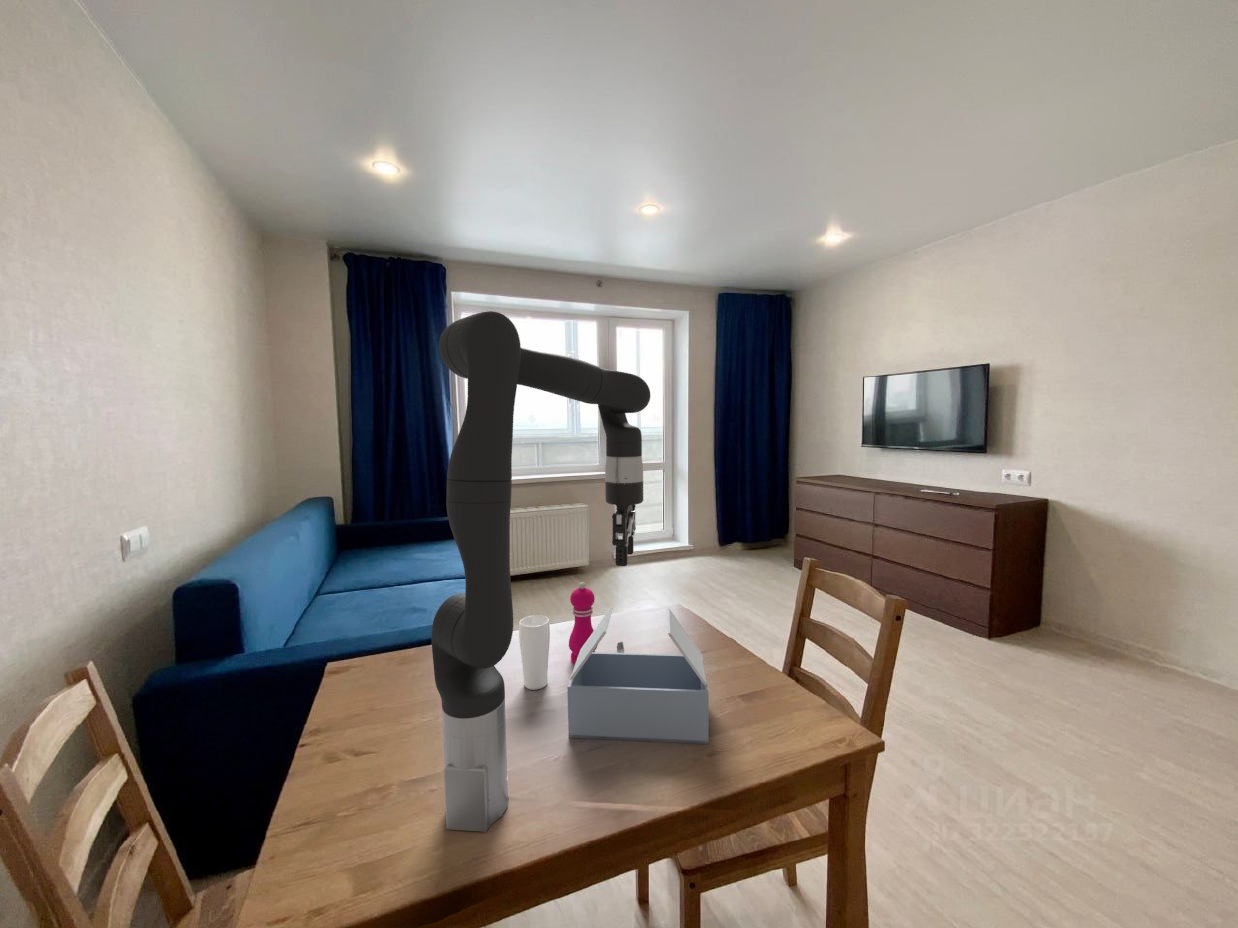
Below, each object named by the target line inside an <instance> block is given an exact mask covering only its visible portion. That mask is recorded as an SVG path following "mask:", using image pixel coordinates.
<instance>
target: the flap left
mask: <svg viewBox="0 0 1238 928" xmlns="http://www.w3.org/2000/svg"><path fill="white" fill-rule="evenodd" d="M613 610H614V609H613V607H612V606H610V607H609V608H608V610H607V611H606V613H605V614H604V616H603V617H602V619H601V620H600V622H599V623H598V624H597V626H596V627H595V629H593V630H594V631H593V633H592V634H591V635H590V637H589V638H588V640H587V641H586V642H585V644H584V645H583V647H582V648H581V649H580V652H579V655H578V658H577V661H576V663H575V665H574V666H573V668H572V669H573V670H572V672H571V675H570V676H569V677H570V678H569V680H570V679H571V680H573V678H574V677H575V676H576V674H577V673H578V672H579V670H580V669H581V667H582V666H583V665H584V663H585V662H586V660H587V659H588V658H589V656H590V655H591V653H592V652H593V651H594V649H595V648H596V646H597V645H599V644H600V642H601V641H602V640H603V638H604V637H605V636H606V634H607V632H608V628H609V624H610V621H611V617H612V612H613ZM597 647H598V646H597ZM596 649H597V648H596Z"/></svg>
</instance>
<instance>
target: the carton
mask: <svg viewBox="0 0 1238 928" xmlns="http://www.w3.org/2000/svg"><path fill="white" fill-rule="evenodd" d="M702 660H703V661H704V656H702ZM703 666H704V671H705V672H706V669H705V664H704V662H703ZM705 677H706V673H705ZM706 678H707V677H706ZM706 683H707V684H706V685H704V684H703V683H702V681H701V680H700V678H699V677H698V676H697V674H696V673H695V671H694V670H693V669H692V667H691V666H690V664H689V663H688V662H687V660H686V659H685V657H684V656H683V655H682V654H666V653H665V654H664V653H663V654H662V653H632V652H631V653H629V652H627V653H626V652H624V653H617V652H599V651H598V652H596V651H595V652H592V653H591V655H590V656H589V658H588V659H587V660H586V662H585V663H584V665H583V666H582V667H581V669H580V670H579V672H578V673H577V674H576V676H575V677H574V678H573V680H571V679H570V678H569V682H568V685H567V719H568V720H567V721H568V725H567V726H568V727H567V728H568V730H567V731H568V739H586V740H587V739H588V740H610V741H611V740H612V741H629V742H630V741H631V742H650V743H653V742H655V743H673V744H674V743H675V744H692V745H693V744H695V745H696V744H697V745H709V721H710V720H709V717H710V716H709V710H710V709H709V708H710V707H709V704H710V703H709V696H710V694H709V693H710V692H709V687H708V682H707V679H706Z"/></svg>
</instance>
